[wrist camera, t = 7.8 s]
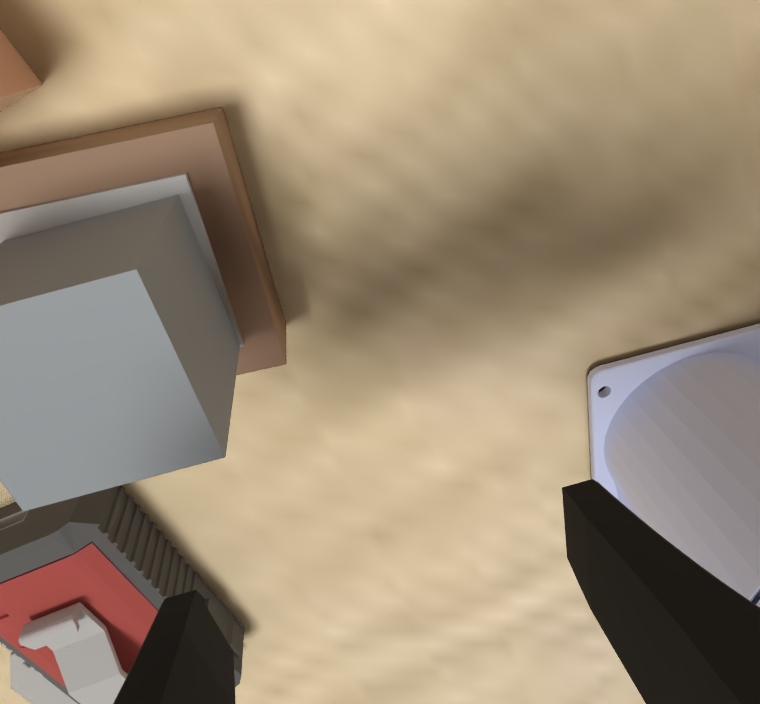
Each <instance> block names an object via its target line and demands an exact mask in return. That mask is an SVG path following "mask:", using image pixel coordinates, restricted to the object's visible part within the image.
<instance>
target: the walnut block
mask: <svg viewBox="0 0 760 704" xmlns="http://www.w3.org/2000/svg"><path fill="white" fill-rule="evenodd" d="M178 194H179V196H180V199H181V201H182V204H183V206H184V209H185V211H186V214H187V216H188V218H189V221H190V223H191V226H192V228H193V231H194V233H195V236H196V238H197V241H198V243H199V246H200V248H201V251H202V253H203V256H204V258H205V260H206V263H207V265H208V268H209V270H210V273H211V275H212V278H213V280H214V283H215V285H216V288H217V290H218V293H219V295H220V298H221V300H222V302H223V305H224V307H225V310H226V312H227V315H228V317H229V320H230V322H231V325H232V327H233V330H234V332H235V335H236V337H237V339H238V342H239V344H240V349H239V356H238V364H237V372H236V375H240V374H244V373H248V372H253V371H257V370H262V369H266V368H271V367H275V366H280V365H284V364H286V323H285V319H284V316H283V313H282V309H281V306H280V302H279V299H278V296H277V292H276V289H275V285H274V282H273V278H272V275H271V272H270V268H269V265H268V261H267V258H266V254H265V251H264V248H263V244H262V241H261V237H260V234H259V230H258V227H257V224H256V220H255V217H254V213H253V210H252V206H251V203H250V200H249V196H248V193H247V189H246V186H245V182H244V179H243V176H242V172H241V169H240V165H239V162H238V158H237V155H236V152H235V148H234V145H233V141H232V138H231V134H230V131H229V128H228V124H227V121H226V117H225V114H224V110H223V107H219V108H214V109H209V110H204V111H200V112H195V113H190V114H185V115H181V116H176V117H171V118H166V119H161V120H157V121H152V122H147V123H142V124H138V125H133V126H128V127H123V128H118V129H114V130H109V131H104V132H99V133H95V134H90V135H85V136H80V137H75V138H71V139H66V140H61V141H56V142H52V143H47V144H42V145H37V146H33V147H28V148H23V149H18V150H13V151H9V152H4V153H0V244H1V243H2V242H3V241H5V240H9V239H13V238H17V237H20V236H24V235H28V234H32V233H35V232H39V231H43V230H47V229H50V228H54V227H58V226H62V225H65V224H69V223H73V222H77V221H81V220H84V219H88V218H92V217H96V216H99V215H103V214H107V213H111V212H114V211H118V210H122V209H126V208H129V207H133V206H137V205H141V204H144V203H148V202H152V201H156V200H159V199H163V198H167V197H171V196H174V195H178Z"/></svg>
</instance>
